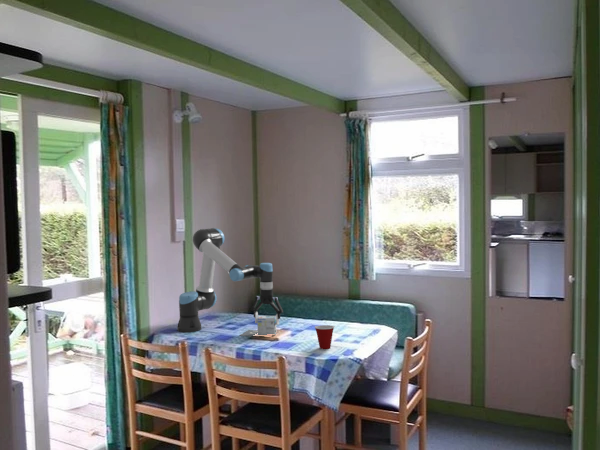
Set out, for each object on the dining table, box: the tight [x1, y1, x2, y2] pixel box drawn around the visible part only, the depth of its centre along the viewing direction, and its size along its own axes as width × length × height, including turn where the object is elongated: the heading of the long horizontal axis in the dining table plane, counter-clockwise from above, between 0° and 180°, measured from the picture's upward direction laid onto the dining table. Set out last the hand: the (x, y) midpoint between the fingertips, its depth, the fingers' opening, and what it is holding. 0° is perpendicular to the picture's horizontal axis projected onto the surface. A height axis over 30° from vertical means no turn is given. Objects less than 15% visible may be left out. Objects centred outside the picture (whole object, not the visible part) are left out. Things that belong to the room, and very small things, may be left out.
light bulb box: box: [256, 315, 278, 335], centre depth 314 cm, size 11×7×11 cm, turn 83°
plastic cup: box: [314, 324, 335, 350], centre depth 283 cm, size 11×11×12 cm
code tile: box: [239, 329, 258, 337], centre depth 317 cm, size 20×14×1 cm
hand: (267, 323), depth 314 cm, fingers open, 13 cm apart
